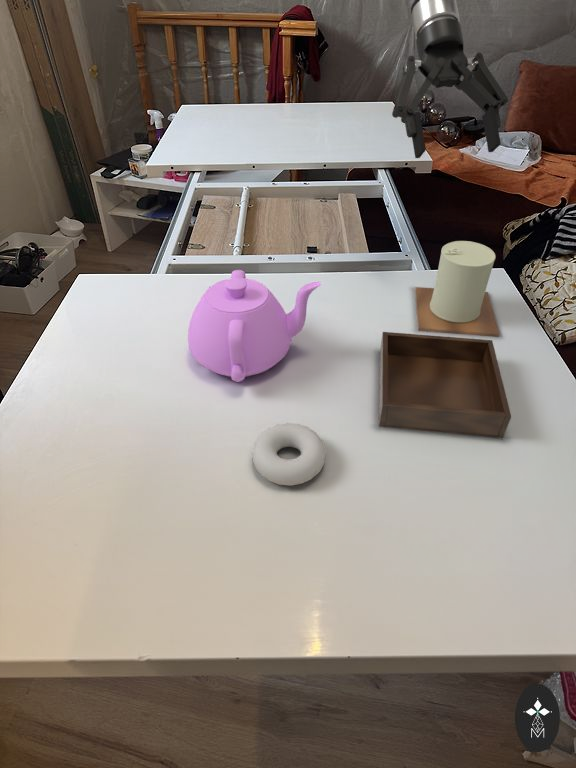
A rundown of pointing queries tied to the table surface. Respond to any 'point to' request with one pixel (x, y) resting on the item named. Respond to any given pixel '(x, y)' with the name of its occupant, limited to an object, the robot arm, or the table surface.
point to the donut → (283, 468)
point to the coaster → (432, 323)
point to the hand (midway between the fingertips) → (458, 151)
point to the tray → (441, 385)
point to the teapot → (244, 326)
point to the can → (461, 281)
